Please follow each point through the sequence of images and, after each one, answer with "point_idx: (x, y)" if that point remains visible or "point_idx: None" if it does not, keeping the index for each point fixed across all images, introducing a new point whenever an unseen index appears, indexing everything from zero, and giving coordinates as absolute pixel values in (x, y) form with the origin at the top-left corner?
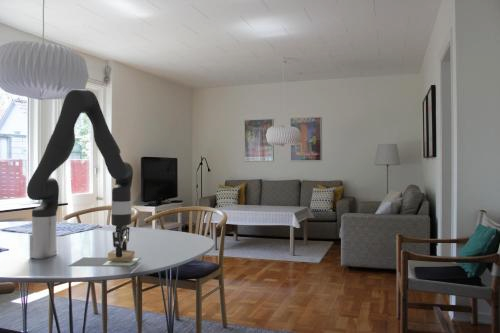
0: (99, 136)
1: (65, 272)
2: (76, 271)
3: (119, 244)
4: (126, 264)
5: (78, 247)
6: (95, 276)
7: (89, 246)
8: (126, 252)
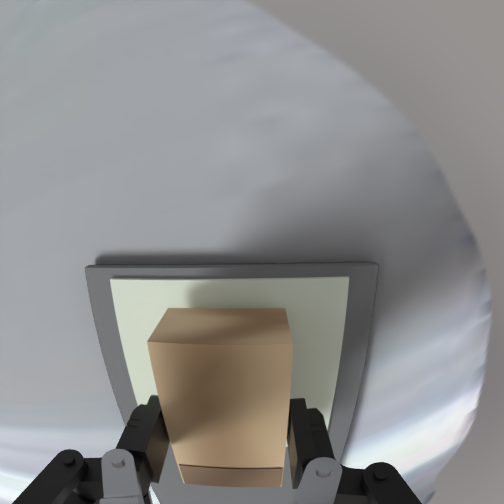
0: None
1: None
2: None
3: (402, 481)
4: (334, 319)
5: None
6: (482, 378)
7: (12, 479)
8: (252, 394)
